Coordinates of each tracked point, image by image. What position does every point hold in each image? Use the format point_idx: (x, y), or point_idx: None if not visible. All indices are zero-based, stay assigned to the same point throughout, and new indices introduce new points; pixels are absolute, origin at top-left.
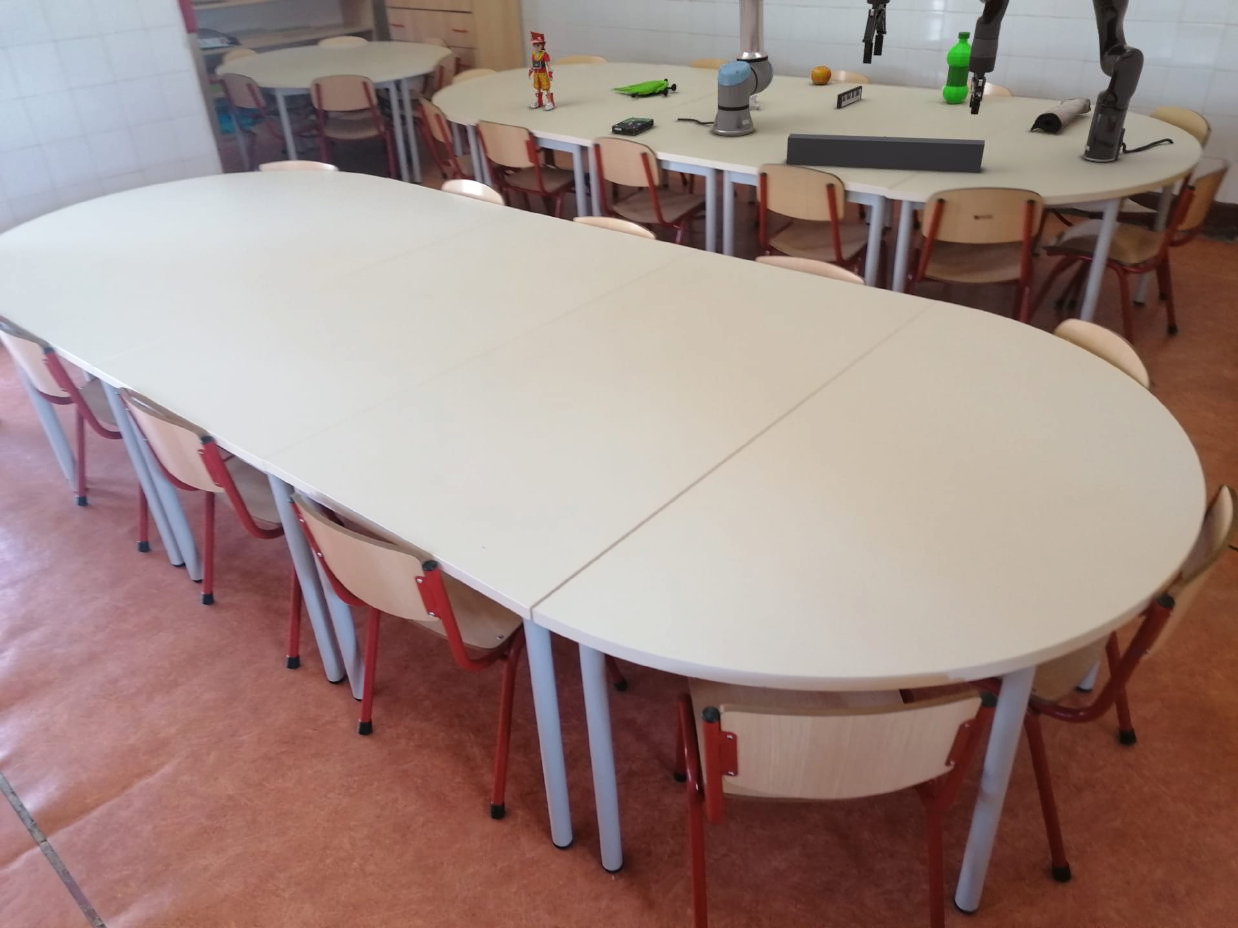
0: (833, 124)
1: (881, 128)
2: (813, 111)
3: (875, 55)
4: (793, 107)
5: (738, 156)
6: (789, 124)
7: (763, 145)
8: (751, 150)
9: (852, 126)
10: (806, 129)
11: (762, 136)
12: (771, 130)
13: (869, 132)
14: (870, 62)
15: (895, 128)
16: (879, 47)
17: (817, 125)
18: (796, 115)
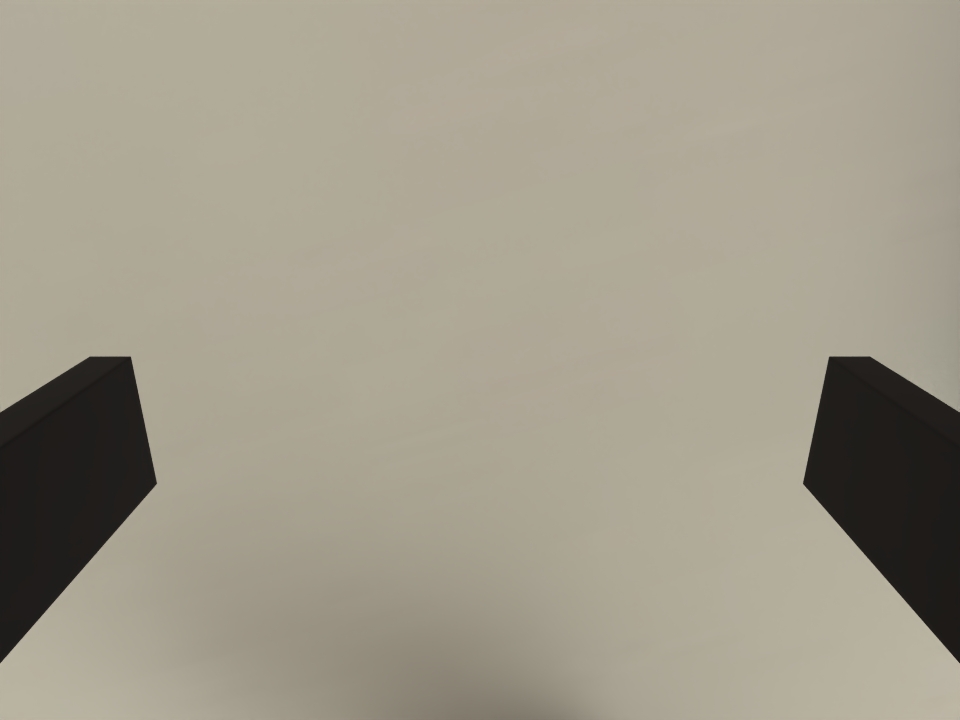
0: (264, 457)
1: (235, 167)
2: (57, 615)
3: (143, 453)
4: (34, 713)
5: (943, 676)
6: (350, 644)
7: (749, 639)
8: (840, 658)
9: (263, 350)
10: (413, 551)
11: (597, 684)
12: (484, 681)
13: (356, 217)
14: (881, 373)
15: (197, 72)
16: (49, 473)
17: (317, 525)
18: (173, 662)
